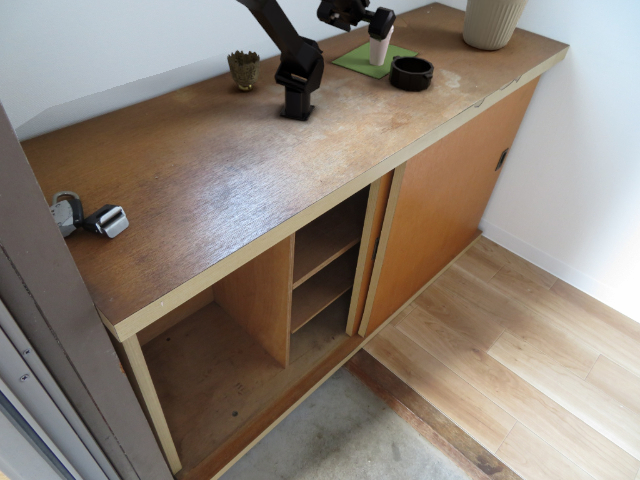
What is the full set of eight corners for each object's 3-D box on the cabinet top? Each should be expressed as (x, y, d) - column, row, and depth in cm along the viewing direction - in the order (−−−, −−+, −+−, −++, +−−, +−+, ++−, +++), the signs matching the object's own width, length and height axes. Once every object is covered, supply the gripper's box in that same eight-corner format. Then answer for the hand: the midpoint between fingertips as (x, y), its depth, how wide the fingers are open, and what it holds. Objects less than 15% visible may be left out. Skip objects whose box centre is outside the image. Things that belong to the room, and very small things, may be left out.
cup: (264, 83, 108) (262, 51, 103) (258, 97, 103) (256, 64, 98) (234, 81, 109) (231, 48, 103) (227, 95, 104) (223, 61, 98)
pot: (410, 97, 107) (414, 79, 104) (377, 75, 115) (379, 58, 112) (441, 88, 111) (446, 71, 108) (407, 68, 119) (411, 51, 116)
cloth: (379, 79, 113) (379, 78, 113) (331, 63, 119) (331, 61, 119) (418, 54, 126) (418, 52, 126) (373, 40, 132) (373, 39, 132)
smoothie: (359, 61, 120) (366, 5, 110) (376, 56, 123) (384, 1, 113) (376, 70, 117) (384, 13, 107) (393, 64, 120) (402, 8, 110)
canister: (452, 50, 129) (473, -32, 114) (454, 29, 142) (473, -47, 127) (516, 59, 127) (546, -23, 112) (511, 37, 139) (538, -40, 124)
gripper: (399, -31, 90) (413, 14, 105) (326, -48, 98) (348, -4, 112) (374, 19, 91) (392, 57, 106) (303, -1, 99) (328, 36, 113)
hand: (365, 35), depth 109 cm, fingers open, 9 cm apart
